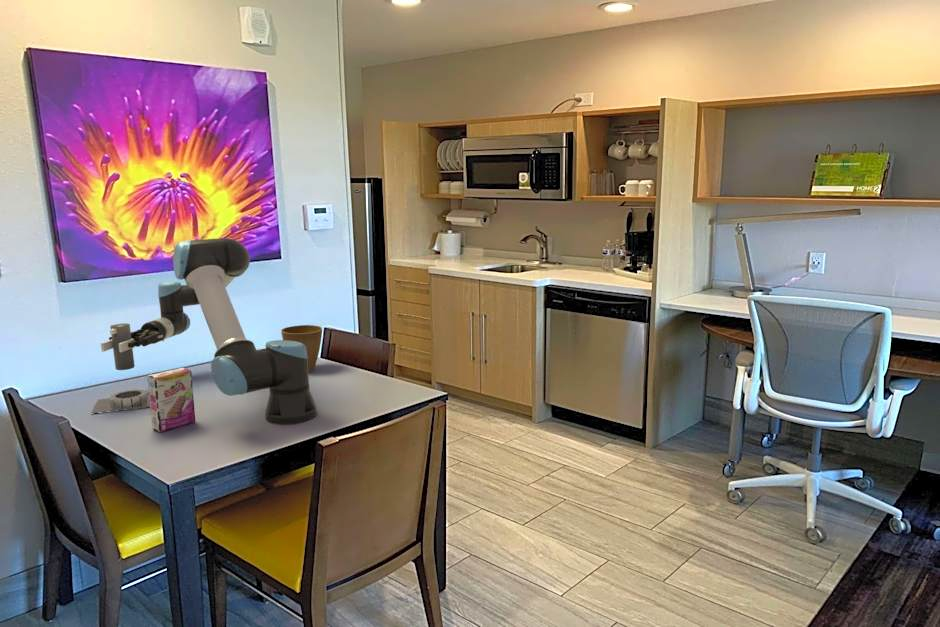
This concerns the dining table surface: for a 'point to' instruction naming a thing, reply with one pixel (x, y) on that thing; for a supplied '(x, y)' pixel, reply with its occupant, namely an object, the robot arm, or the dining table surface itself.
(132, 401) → the well
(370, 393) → the dining table surface
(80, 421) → the dining table surface
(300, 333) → the plant pot
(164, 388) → the candy bar box
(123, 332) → the grey tall cylinder
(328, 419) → the dining table surface
